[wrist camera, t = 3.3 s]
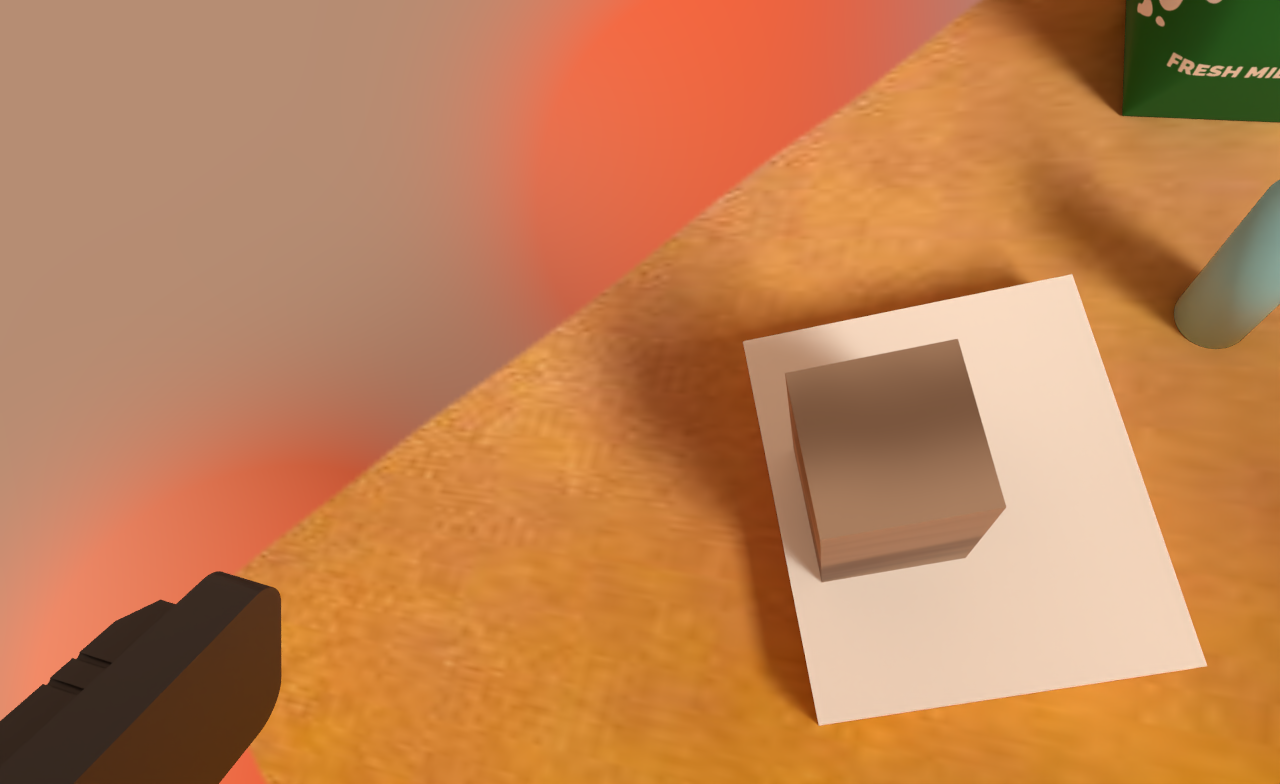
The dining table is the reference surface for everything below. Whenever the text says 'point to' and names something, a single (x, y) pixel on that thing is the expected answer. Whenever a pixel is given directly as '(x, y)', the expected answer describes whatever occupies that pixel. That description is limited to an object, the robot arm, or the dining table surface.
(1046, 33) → the dining table surface
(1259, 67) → the milk carton
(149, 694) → the robot arm
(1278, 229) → the peg
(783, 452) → the board
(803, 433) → the grey brown block
